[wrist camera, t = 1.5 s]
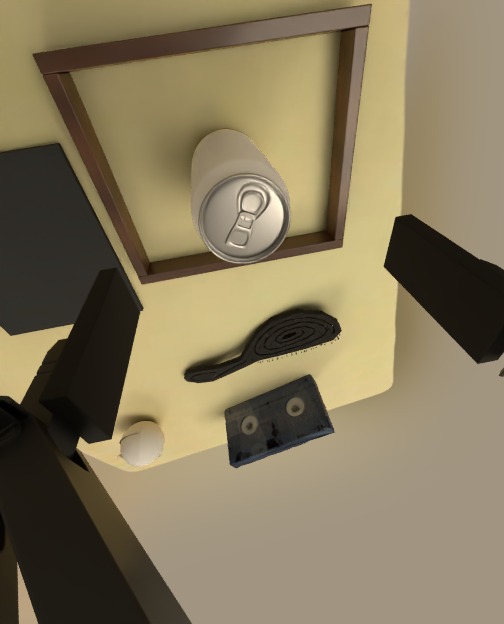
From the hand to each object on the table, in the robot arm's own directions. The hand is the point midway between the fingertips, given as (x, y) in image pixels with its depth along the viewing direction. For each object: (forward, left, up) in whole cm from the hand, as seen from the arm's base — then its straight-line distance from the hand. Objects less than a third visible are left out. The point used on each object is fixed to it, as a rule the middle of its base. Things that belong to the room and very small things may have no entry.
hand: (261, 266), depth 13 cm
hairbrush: (+25, 0, -17) cm, 30 cm away
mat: (+5, -21, -17) cm, 27 cm away
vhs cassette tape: (+40, +1, -17) cm, 43 cm away
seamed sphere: (+41, -24, -17) cm, 50 cm away
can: (0, 0, -17) cm, 17 cm away
